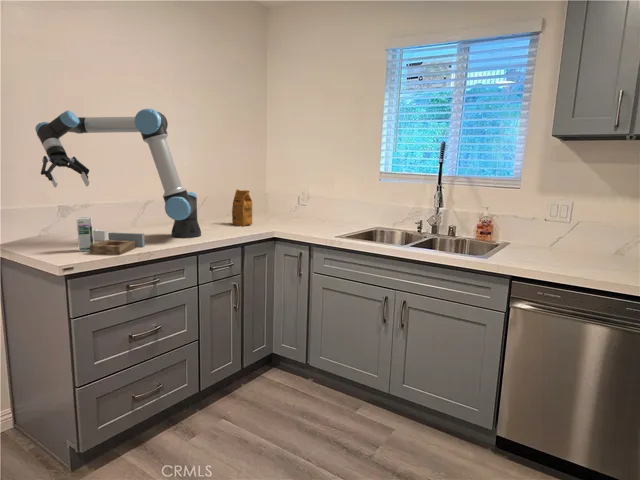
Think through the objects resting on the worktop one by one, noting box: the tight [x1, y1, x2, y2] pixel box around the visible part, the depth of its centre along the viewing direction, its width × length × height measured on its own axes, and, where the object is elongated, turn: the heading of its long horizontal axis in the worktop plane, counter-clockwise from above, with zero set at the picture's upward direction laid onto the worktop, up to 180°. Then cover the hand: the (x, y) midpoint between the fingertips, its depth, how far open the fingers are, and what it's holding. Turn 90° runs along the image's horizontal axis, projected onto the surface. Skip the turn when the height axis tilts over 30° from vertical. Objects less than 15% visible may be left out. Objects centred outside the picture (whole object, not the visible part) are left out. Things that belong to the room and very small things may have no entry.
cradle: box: [89, 239, 136, 256], centre depth 192 cm, size 13×13×4 cm
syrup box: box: [76, 216, 95, 253], centre depth 192 cm, size 6×6×14 cm
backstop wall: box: [108, 232, 146, 248], centre depth 204 cm, size 16×2×6 cm, turn 86°
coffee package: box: [231, 188, 253, 227], centre depth 275 cm, size 10×12×22 cm
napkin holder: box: [93, 228, 109, 242], centre depth 219 cm, size 15×11×6 cm
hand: (72, 184), depth 198 cm, fingers open, 13 cm apart
